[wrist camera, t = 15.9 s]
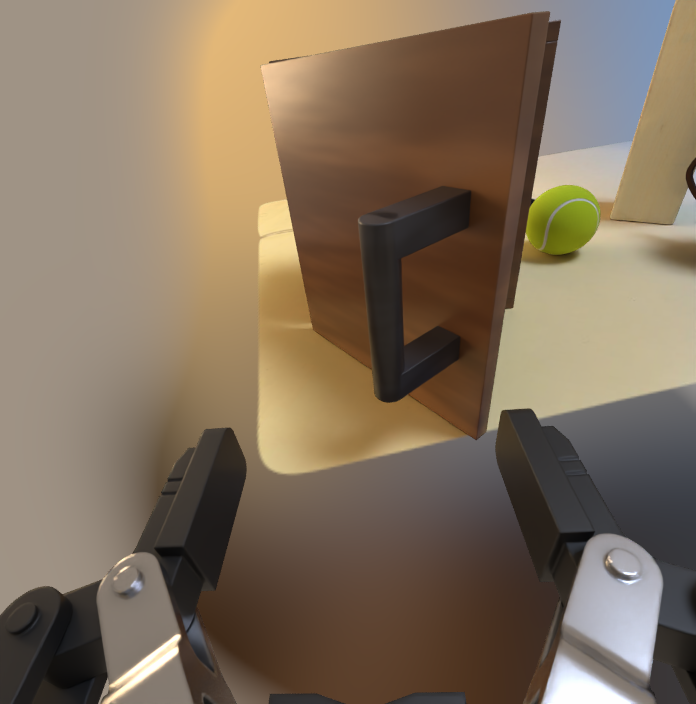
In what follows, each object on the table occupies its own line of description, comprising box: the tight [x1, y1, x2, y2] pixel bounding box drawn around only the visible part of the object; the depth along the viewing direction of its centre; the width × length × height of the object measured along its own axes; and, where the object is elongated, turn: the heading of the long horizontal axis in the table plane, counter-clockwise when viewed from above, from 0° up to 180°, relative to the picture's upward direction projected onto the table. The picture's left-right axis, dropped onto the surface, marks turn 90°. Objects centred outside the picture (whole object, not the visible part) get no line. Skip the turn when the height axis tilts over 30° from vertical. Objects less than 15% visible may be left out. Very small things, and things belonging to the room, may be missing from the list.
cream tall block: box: [610, 0, 696, 224], centre depth 43 cm, size 8×7×21 cm
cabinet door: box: [261, 11, 550, 440], centre depth 23 cm, size 6×18×20 cm, turn 38°
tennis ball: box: [526, 185, 600, 255], centre depth 41 cm, size 7×7×7 cm
